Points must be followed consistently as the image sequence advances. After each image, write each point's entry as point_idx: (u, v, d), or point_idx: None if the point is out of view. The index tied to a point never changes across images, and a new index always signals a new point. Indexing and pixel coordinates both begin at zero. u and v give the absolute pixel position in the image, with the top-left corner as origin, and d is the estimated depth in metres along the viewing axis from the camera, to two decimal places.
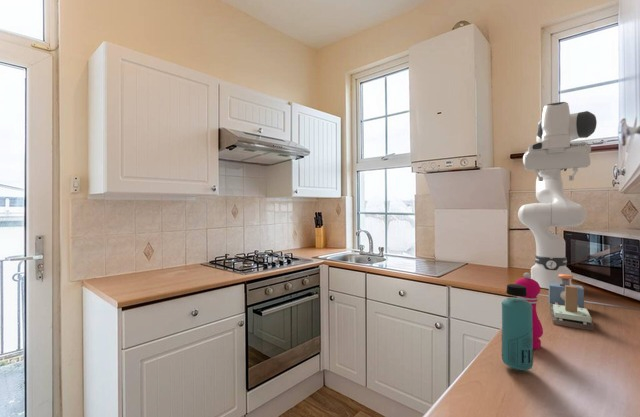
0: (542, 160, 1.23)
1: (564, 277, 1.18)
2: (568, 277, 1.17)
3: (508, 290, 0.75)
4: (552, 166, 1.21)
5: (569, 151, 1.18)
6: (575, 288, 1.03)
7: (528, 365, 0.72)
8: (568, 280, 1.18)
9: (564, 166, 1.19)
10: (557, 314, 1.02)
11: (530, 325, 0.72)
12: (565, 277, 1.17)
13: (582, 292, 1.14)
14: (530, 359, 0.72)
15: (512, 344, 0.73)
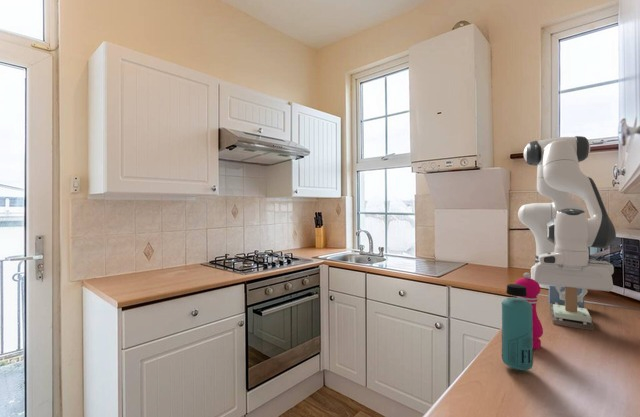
0: (555, 275, 1.05)
1: None
2: None
3: (508, 290, 0.75)
4: (567, 284, 1.03)
5: (587, 270, 1.00)
6: (575, 288, 1.03)
7: (528, 365, 0.72)
8: None
9: (581, 287, 1.01)
10: (557, 314, 1.02)
11: (530, 325, 0.72)
12: None
13: None
14: (530, 359, 0.72)
15: (512, 344, 0.73)
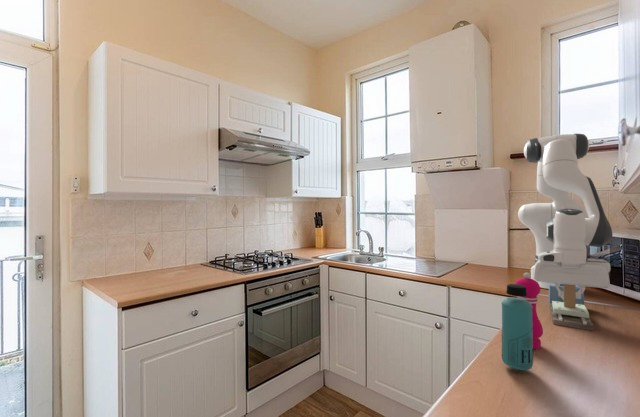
0: (554, 273, 1.09)
1: None
2: None
3: (508, 290, 0.75)
4: (566, 282, 1.07)
5: (585, 268, 1.04)
6: (573, 285, 1.06)
7: (528, 365, 0.72)
8: None
9: (579, 284, 1.05)
10: (556, 310, 1.06)
11: (530, 325, 0.72)
12: None
13: None
14: (530, 359, 0.72)
15: (512, 344, 0.73)
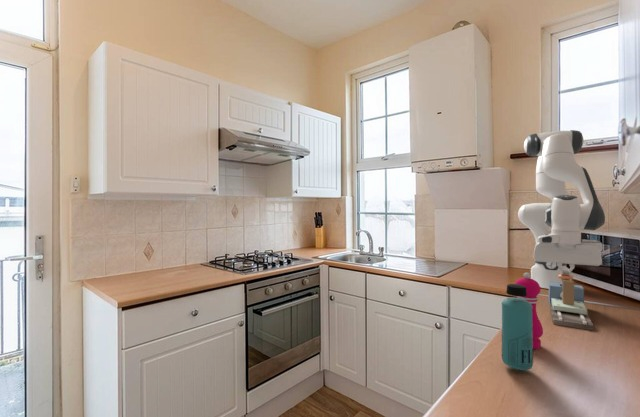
0: (552, 253, 1.20)
1: (564, 277, 1.18)
2: (568, 277, 1.17)
3: (508, 290, 0.75)
4: (562, 261, 1.18)
5: (580, 248, 1.15)
6: (572, 283, 1.10)
7: (528, 365, 0.72)
8: None
9: (575, 262, 1.16)
10: (555, 307, 1.09)
11: (530, 325, 0.72)
12: (565, 277, 1.17)
13: (582, 292, 1.14)
14: (530, 359, 0.72)
15: (512, 344, 0.73)
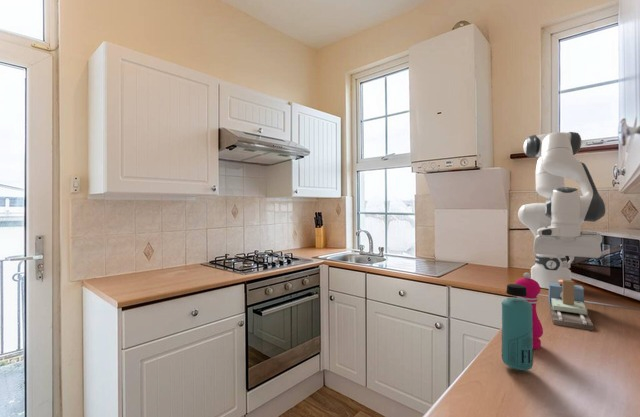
0: (551, 246, 1.20)
1: None
2: None
3: (508, 290, 0.75)
4: (562, 253, 1.18)
5: (579, 240, 1.15)
6: (572, 283, 1.10)
7: (528, 365, 0.72)
8: None
9: (574, 255, 1.17)
10: (555, 307, 1.09)
11: (530, 325, 0.72)
12: None
13: (582, 292, 1.14)
14: (530, 359, 0.72)
15: (512, 344, 0.73)
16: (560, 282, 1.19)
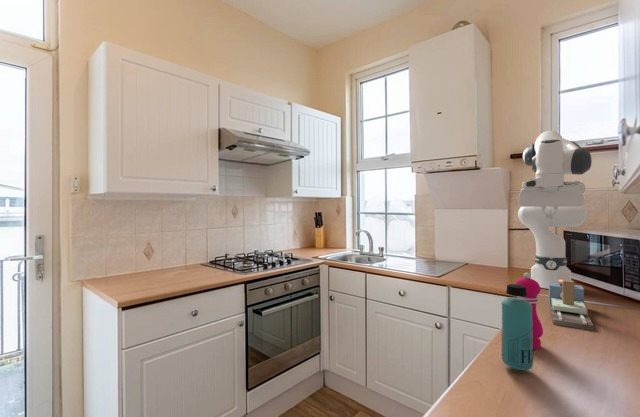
0: (536, 197, 1.21)
1: None
2: None
3: (508, 290, 0.75)
4: (546, 204, 1.20)
5: (563, 190, 1.17)
6: (572, 283, 1.10)
7: (528, 365, 0.72)
8: None
9: (558, 205, 1.18)
10: (555, 307, 1.09)
11: (530, 325, 0.72)
12: None
13: (582, 292, 1.14)
14: (530, 359, 0.72)
15: (512, 344, 0.73)
16: (560, 282, 1.19)
